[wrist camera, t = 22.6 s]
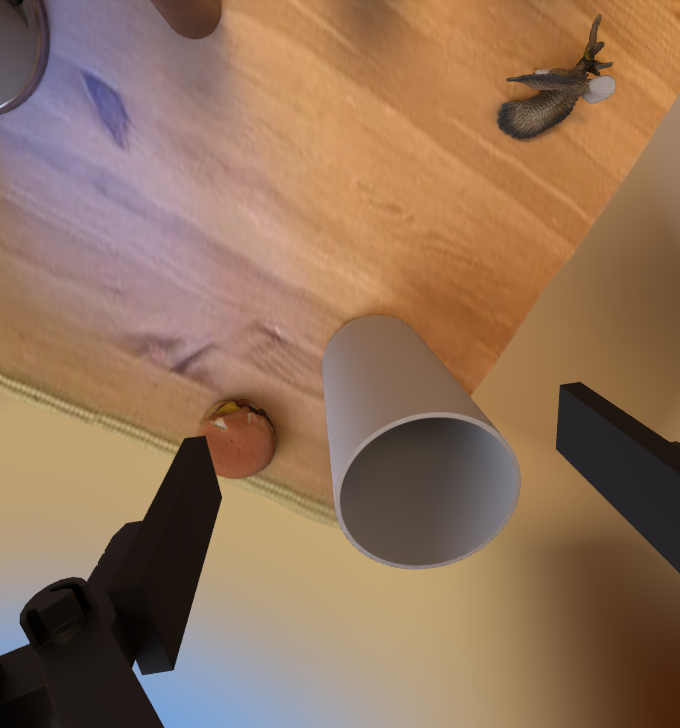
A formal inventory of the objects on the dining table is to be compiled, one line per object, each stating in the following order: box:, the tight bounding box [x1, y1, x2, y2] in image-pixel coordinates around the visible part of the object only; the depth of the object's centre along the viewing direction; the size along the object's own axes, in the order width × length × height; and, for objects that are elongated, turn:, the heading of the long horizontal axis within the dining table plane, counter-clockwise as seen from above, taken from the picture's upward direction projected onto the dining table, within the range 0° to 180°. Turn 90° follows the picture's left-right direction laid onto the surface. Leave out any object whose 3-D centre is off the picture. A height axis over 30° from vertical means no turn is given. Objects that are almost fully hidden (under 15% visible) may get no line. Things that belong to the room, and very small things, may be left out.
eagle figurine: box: [497, 14, 616, 139], centre depth 41 cm, size 8×7×9 cm
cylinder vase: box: [322, 315, 521, 569], centre depth 41 cm, size 12×12×25 cm
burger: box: [195, 399, 276, 479], centre depth 52 cm, size 10×9×5 cm
